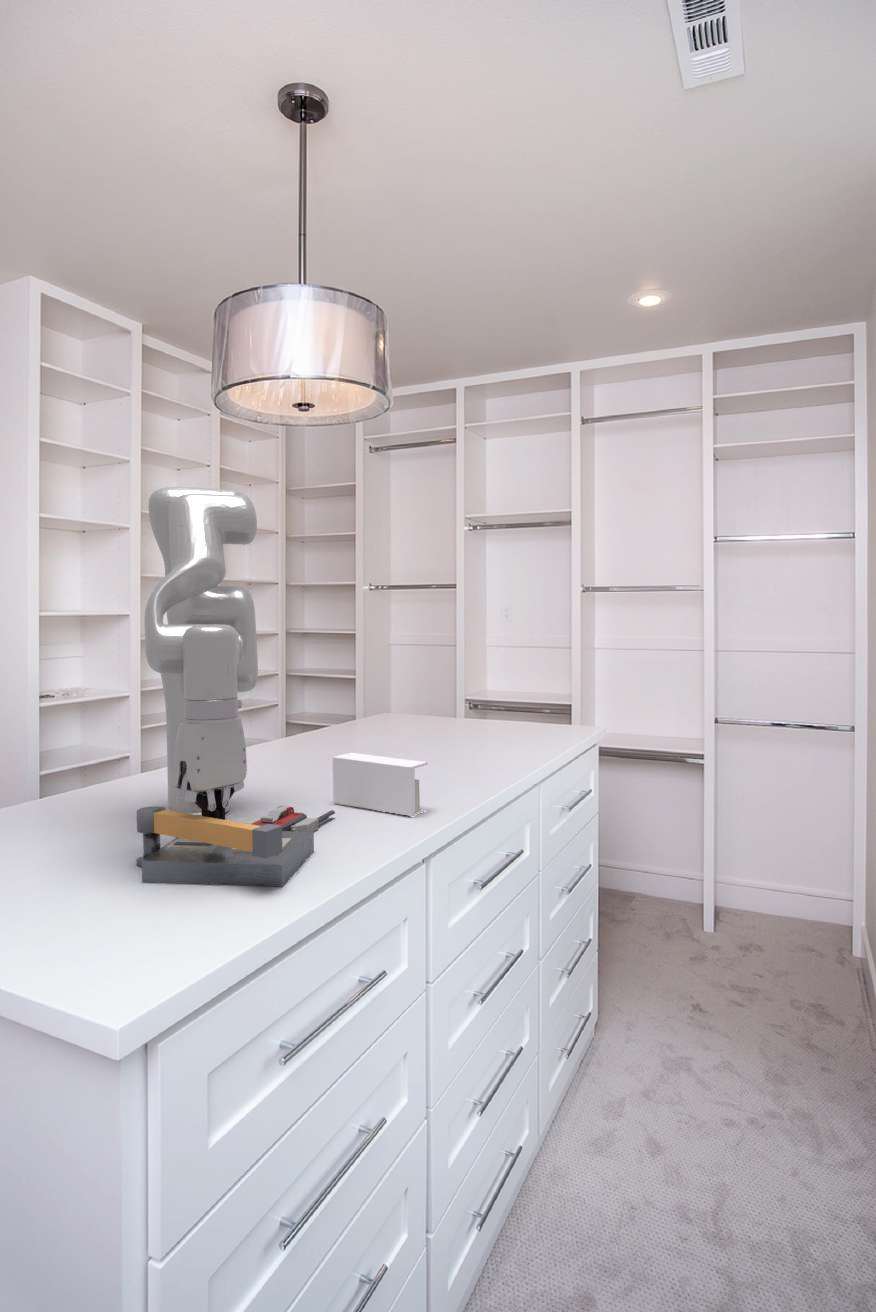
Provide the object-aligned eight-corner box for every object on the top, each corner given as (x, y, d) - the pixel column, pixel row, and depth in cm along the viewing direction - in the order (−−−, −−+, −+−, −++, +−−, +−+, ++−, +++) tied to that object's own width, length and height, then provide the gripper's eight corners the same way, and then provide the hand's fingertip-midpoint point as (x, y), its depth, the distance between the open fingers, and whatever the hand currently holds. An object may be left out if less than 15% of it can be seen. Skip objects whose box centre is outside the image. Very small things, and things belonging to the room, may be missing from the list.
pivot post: (145, 857, 118) (144, 828, 117) (173, 858, 117) (172, 829, 117) (130, 867, 113) (130, 836, 113) (159, 867, 113) (158, 837, 113)
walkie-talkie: (283, 852, 121) (338, 820, 140) (282, 824, 121) (338, 796, 140) (234, 847, 124) (295, 816, 143) (234, 820, 124) (295, 792, 143)
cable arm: (131, 833, 114) (130, 809, 114) (152, 826, 118) (152, 803, 117) (264, 859, 102) (263, 832, 102) (284, 851, 105) (283, 825, 105)
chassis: (191, 847, 123) (190, 825, 123) (313, 850, 121) (313, 828, 120) (142, 881, 107) (141, 856, 107) (282, 886, 105) (281, 861, 105)
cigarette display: (428, 811, 145) (428, 762, 144) (411, 818, 140) (411, 767, 139) (346, 798, 156) (346, 751, 155) (328, 803, 151) (327, 756, 150)
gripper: (234, 704, 121) (237, 820, 122) (150, 714, 109) (153, 843, 109) (267, 707, 116) (269, 827, 117) (183, 718, 104) (186, 852, 105)
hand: (213, 834), depth 113 cm, fingers closed
